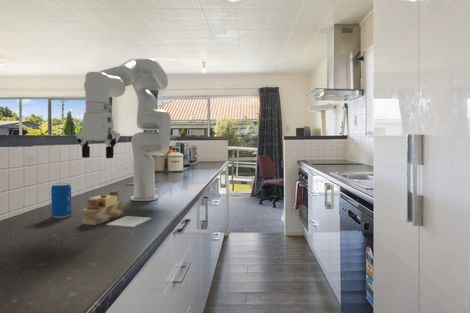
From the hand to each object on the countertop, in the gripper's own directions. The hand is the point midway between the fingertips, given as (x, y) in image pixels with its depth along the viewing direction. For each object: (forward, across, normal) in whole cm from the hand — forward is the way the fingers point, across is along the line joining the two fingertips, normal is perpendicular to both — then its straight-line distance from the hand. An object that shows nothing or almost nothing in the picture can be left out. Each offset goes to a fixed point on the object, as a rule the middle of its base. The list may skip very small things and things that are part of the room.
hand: (97, 157), depth 117 cm
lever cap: (+17, -1, -2) cm, 17 cm away
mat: (+22, -12, -1) cm, 25 cm away
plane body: (+22, -1, -2) cm, 22 cm away
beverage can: (+22, +16, -1) cm, 27 cm away
